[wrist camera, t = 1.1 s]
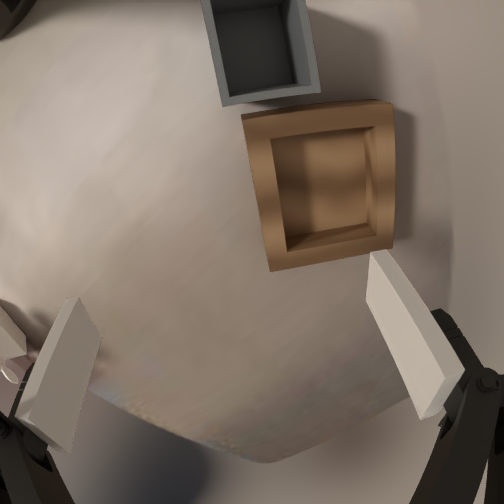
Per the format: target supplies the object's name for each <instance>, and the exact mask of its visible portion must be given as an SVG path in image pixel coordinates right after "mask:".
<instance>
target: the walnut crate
mask: <svg viewBox="0 0 504 504" xmlns="http://www.w3.org/2000/svg"><path fill="white" fill-rule="evenodd" d="M241 119H242V124H243V129H244V135H245V140H246V145H247V151H248V156H249V161H250V167H251V172H252V177H253V183H254V188H255V194H256V199H257V204H258V210H259V215H260V221H261V227H262V232H263V238H264V243H265V249H266V254H267V259H268V264H269V270H270V272H274V271H279V270H285V269H290V268H295V267H301V266H306V265H311V264H317V263H322V262H327V261H332V260H337V259H342V258H348V257H353V256H358V255H363V254H368V253H370V252H373V251H379V250H385V249H392V248H393V234H394V215H395V129H394V111H393V104H391V103H388V102H384V101H380V100H376V99H370V100H353V101H340V102H329V103H319V104H309V105H301V106H293V107H286V108H279V109H272V110H265V111H259V112H253V113H248V114H242V115H241Z"/></svg>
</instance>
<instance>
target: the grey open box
mask: <svg viewBox="0 0 504 504" xmlns="http://www.w3.org/2000/svg"><path fill="white" fill-rule="evenodd" d="M201 5H202V10H203V14H204V19H205V24H206V29H207V34H208V39H209V44H210V48H211V53H212V58H213V63H214V68H215V73H216V78H217V83H218V87H219V92H220V97H221V102H222V107H226V106H231V105H236V104H241V103H247V102H253V101H259V100H265V99H272V98H279V97H286V96H294V95H302V94H311V93H321V88H320V81H319V74H318V67H317V61H316V55H315V49H314V43H313V37H312V32H311V26H310V21H309V16H308V11H307V6H306V1H305V0H201Z"/></svg>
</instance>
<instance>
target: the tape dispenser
mask: <svg viewBox="0 0 504 504" xmlns="http://www.w3.org/2000/svg"><path fill="white" fill-rule="evenodd" d="M26 354H27V349H26V336H25V335H24V333H23V332H22V331H21V330H20V329H19V328H18V326H17V325H16V324H15V323H14V322H13V321H12V319H11V318H10V317H9V316H8V314H7V313H6V312H5V311H4V309H3V308H2V307H1V306H0V371H2V373H3V374H4V376H5V377H6V378H7V379H8V380H9V381H10V382H12V383H16V384H18V378H17V376H16V375H15V374H14V373H13V372H12V371H11V370H9V369H8V368H6V367H5V361H4V360H6V359H10V358H14V357H18V356H22V355H26Z"/></svg>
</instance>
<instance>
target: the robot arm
mask: <svg viewBox="0 0 504 504" xmlns="http://www.w3.org/2000/svg"><path fill="white" fill-rule="evenodd" d="M35 2H36V0H0V39H1V38H2V37H4V36H5V35H6V34H8V33H9V32H10V31H11V30H12V29H13V28H15V27H16V26H17V25H18V24H19V22H20V21H21V20H22V19H23V18H24V17H25V16H26V14H27V13H28V12H29V10H30V9H31V8H32V6H33V5H34V3H35ZM366 302H367V304H368V306H369V308H370V310H371V312H372V314H373V316H374V318H375V320H376V322H377V324H378V326H379V328H380V330H381V333H382V335H383V337H384V339H385V341H386V343H387V345H388V347H389V349H390V352H391V354H392V356H393V358H394V360H395V363H396V365H397V367H398V369H399V371H400V374H401V376H402V378H403V380H404V383H405V385H406V387H407V390H408V392H409V394H410V397H411V399H412V401H413V404H414V406H415V409H416V411H417V413H418V416H419V418H420V420H422V419H425V418H428V417H430V416H433V415H435V414H438V413H439V411H440V410H441V408H442V406H444V408H445V410H446V412H447V413H446V414H445V416H444V417H443V419H442V420H441V421H440V423H439V425H438V426H440V427H441V429H440V432H439V435H438V438H437V440H436V443H435V446H434V448H433V451H432V454H431V456H430V459H429V461H428V463H427V466H426V468H425V471H424V473H423V475H422V477H421V480H420V482H419V484H418V486H417V488H416V491H415V493H414V495H413V497H412V499H411V501H410V503H409V504H473V502H474V500H475V497H476V494H477V491H478V489H479V486H480V482H481V480H482V476H483V473H484V470H485V467H486V463H487V460H488V470H487V481H486V491H485V498H484V504H504V375H499V374H498V373H497V372H495V371H494V370H492V369H490V368H484V367H483V365H482V364H481V362H480V361H479V359H478V357H477V356H476V354H475V353H474V351H473V349H472V348H471V346H470V345H469V343H468V341H467V340H466V338H465V337H464V336H463V334H462V332H461V331H460V329H459V328H458V327H457V325H456V323H455V322H454V320H453V319H452V317H451V316H450V315H449V314H447V313H446V312H445V311H443V310H442V309H441V308H440V309H437V310H433V311H429V310H428V308H427V307H426V305H425V304H424V302H423V301H422V299H421V298H420V296H419V295H418V293H417V292H416V290H415V289H414V287H413V286H412V284H411V283H410V281H409V280H408V279H407V277H406V276H405V274H404V273H403V271H402V270H401V269H400V267H399V266H398V264H397V263H396V262H395V260H394V259H393V258H392V256H391V255H390V254H389V252H388V251H387V249H385V250H379V251H373V252H370V263H369V274H368V284H367V294H366ZM102 338H103V337H102V336H101V334H100V332H99V331H98V329H97V327H96V326H95V324H94V322H93V321H92V319H91V317H90V316H89V314H88V312H87V310H86V309H85V307H84V305H83V303H82V301H81V300H80V298H79V297H72V298H66V300H65V302H64V304H63V306H62V308H61V310H60V312H59V314H58V316H57V318H56V320H55V322H54V324H53V326H52V328H51V330H50V332H49V334H48V336H47V338H46V340H45V342H44V345H43V347H42V349H41V351H40V353H39V356H38V358H37V360H36V363H33V364H32V365H31V366H30V367H29V369H28V370H27V371H26V373H25V376H24V378H23V380H22V382H23V383H21V385H20V388H19V391H18V393H17V396H16V398H15V401H14V403H13V406H12V409H11V412H10V414H9V417H8V418H7V417H6V416H5V415H4V414H3V413H2V412H1V411H0V504H75V503H74V501H73V499H72V497H71V495H70V493H69V492H68V490H67V488H66V486H65V484H64V482H63V480H62V478H61V476H60V474H59V471H58V469H57V467H56V465H55V463H54V460H53V458H52V456H51V454H50V453H49V451H47V447H48V445H49V446H51V447H52V448H53V449H54V450H56V451H59V452H65V453H70V452H71V447H72V443H73V438H74V434H75V430H76V426H77V422H78V418H79V414H80V410H81V407H82V403H83V399H84V396H85V392H86V389H87V385H88V382H89V379H90V375H91V372H92V369H93V365H94V362H95V359H96V356H97V353H98V350H99V347H100V344H101V341H102ZM441 425H442V426H441Z"/></svg>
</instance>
